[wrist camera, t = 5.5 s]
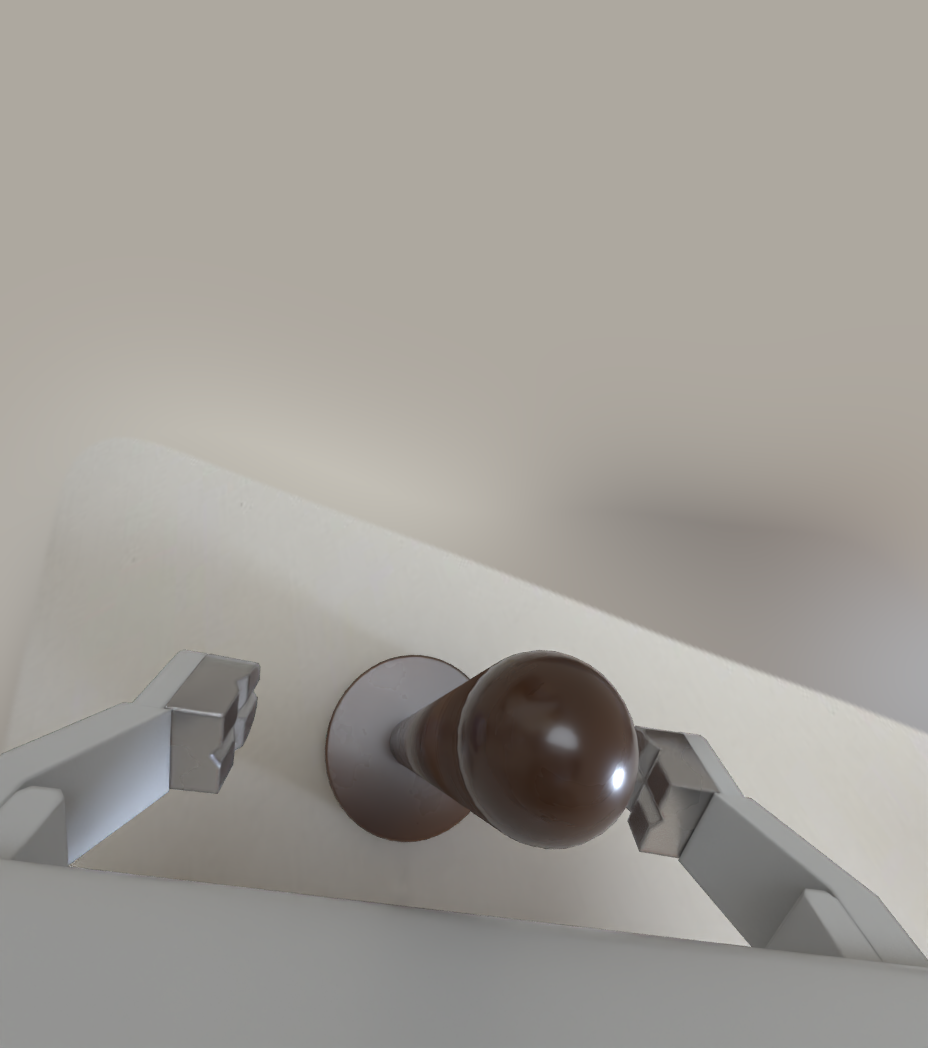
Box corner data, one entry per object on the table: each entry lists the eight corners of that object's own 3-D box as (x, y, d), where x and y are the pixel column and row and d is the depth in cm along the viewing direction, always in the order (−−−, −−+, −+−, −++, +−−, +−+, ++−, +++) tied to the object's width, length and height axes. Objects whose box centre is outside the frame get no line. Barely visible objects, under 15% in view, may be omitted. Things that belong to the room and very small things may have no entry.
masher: (294, 750, 18) (-104, 796, 3) (406, 632, 20) (517, 321, 5) (411, 873, 17) (756, 1924, 2) (513, 734, 19) (1011, 707, 4)
